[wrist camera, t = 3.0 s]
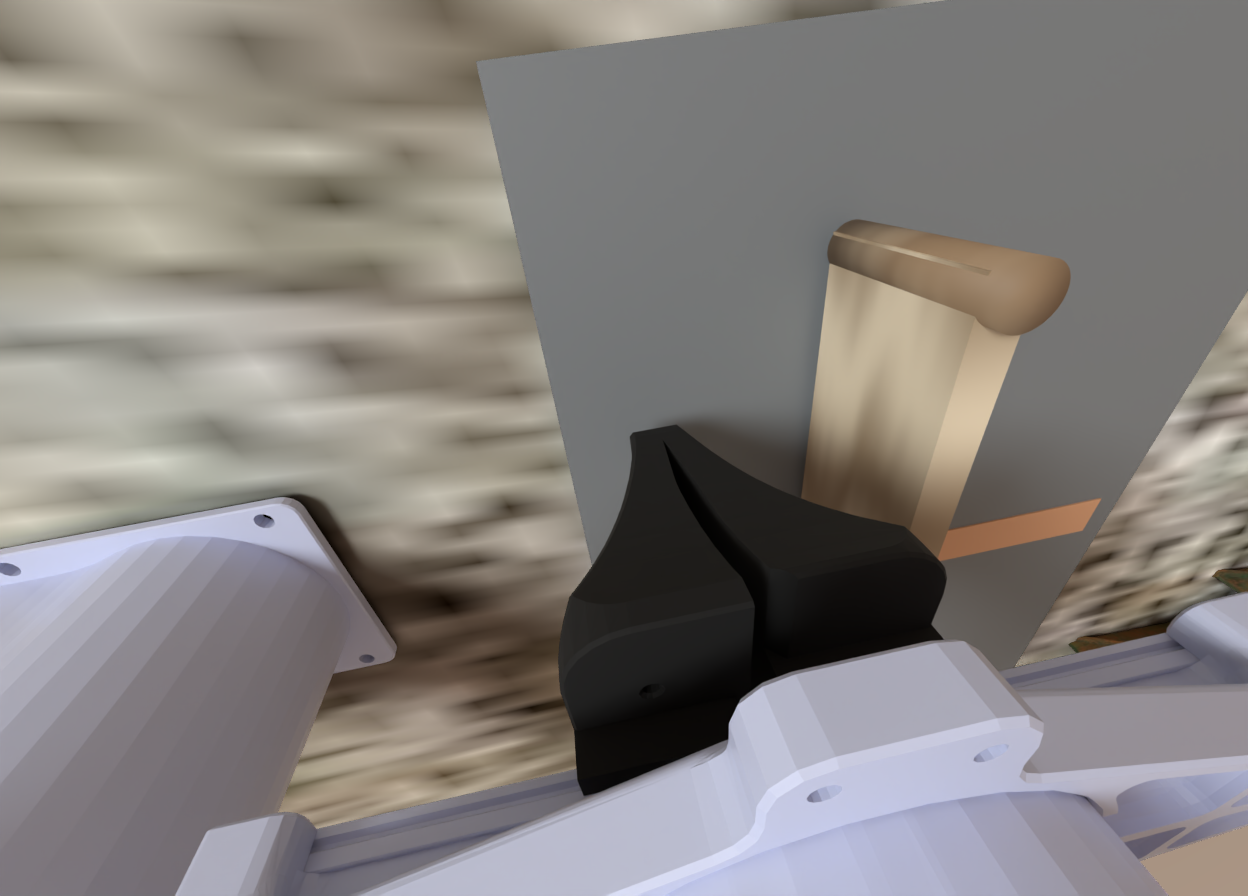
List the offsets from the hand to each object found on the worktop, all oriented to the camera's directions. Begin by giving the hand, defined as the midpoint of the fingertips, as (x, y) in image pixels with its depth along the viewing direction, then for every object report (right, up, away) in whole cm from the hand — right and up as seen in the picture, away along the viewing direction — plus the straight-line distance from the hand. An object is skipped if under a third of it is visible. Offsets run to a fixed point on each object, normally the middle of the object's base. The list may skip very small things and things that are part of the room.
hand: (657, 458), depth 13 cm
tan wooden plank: (+5, +1, +2) cm, 6 cm away
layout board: (+9, -3, +6) cm, 11 cm away
